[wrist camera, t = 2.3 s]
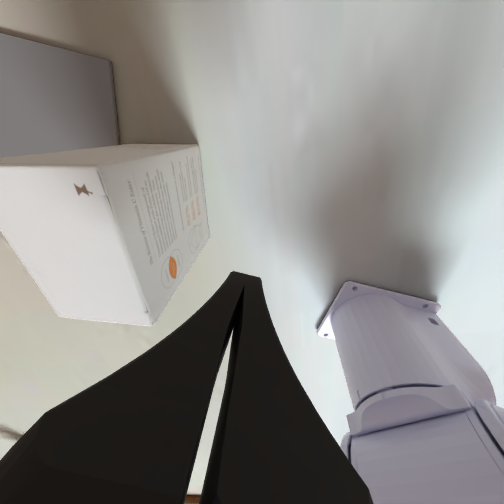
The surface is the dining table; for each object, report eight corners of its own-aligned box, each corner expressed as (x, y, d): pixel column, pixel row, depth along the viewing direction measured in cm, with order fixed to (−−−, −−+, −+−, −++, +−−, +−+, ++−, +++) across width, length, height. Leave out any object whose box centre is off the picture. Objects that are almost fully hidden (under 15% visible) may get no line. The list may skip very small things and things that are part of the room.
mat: (111, 61, 14) (108, 60, 13) (131, 259, 22) (130, 260, 22) (-68, 15, 14) (-75, 13, 13) (20, 231, 22) (17, 232, 21)
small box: (131, 142, 16) (-57, 156, 7) (201, 143, 16) (94, 159, 7) (155, 235, 20) (54, 320, 11) (211, 239, 20) (153, 330, 11)
